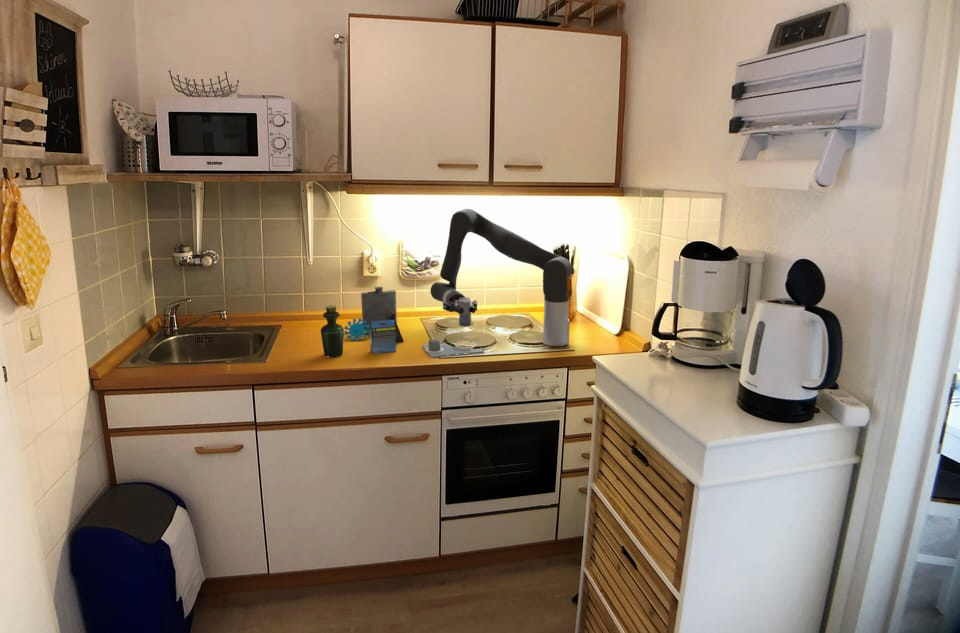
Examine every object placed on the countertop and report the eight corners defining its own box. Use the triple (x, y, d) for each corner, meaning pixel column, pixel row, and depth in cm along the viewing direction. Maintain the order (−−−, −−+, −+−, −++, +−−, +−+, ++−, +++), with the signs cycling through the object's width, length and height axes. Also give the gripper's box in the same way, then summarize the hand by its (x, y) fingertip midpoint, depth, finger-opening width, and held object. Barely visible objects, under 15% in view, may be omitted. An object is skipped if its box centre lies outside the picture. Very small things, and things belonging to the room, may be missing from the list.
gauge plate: (472, 342, 246) (472, 331, 245) (484, 352, 233) (484, 342, 232) (421, 346, 239) (420, 336, 238) (430, 358, 227) (429, 347, 226)
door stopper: (381, 344, 242) (379, 314, 239) (377, 340, 248) (376, 310, 245) (403, 342, 245) (403, 312, 242) (400, 337, 251) (399, 308, 248)
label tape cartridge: (394, 348, 237) (393, 316, 234) (396, 351, 234) (395, 319, 231) (370, 350, 234) (369, 318, 231) (372, 354, 231) (370, 321, 228)
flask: (398, 328, 264) (396, 286, 259) (363, 332, 259) (362, 289, 254) (396, 326, 267) (394, 284, 262) (362, 329, 262) (360, 287, 257)
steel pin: (469, 322, 238) (469, 297, 236) (472, 325, 234) (472, 299, 232) (457, 323, 237) (457, 297, 234) (461, 326, 233) (461, 300, 230)
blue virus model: (340, 337, 246) (348, 315, 250) (343, 344, 251) (351, 322, 256) (367, 342, 244) (374, 320, 249) (369, 349, 249) (377, 327, 254)
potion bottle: (348, 356, 228) (345, 307, 224) (326, 359, 224) (323, 310, 219) (340, 350, 235) (337, 303, 230) (319, 353, 231) (316, 305, 226)
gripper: (436, 292, 244) (448, 302, 228) (471, 289, 248) (486, 299, 233) (436, 310, 246) (448, 322, 230) (471, 308, 250) (485, 319, 235)
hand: (467, 310), depth 231 cm, fingers closed on steel pin, 4 cm apart
